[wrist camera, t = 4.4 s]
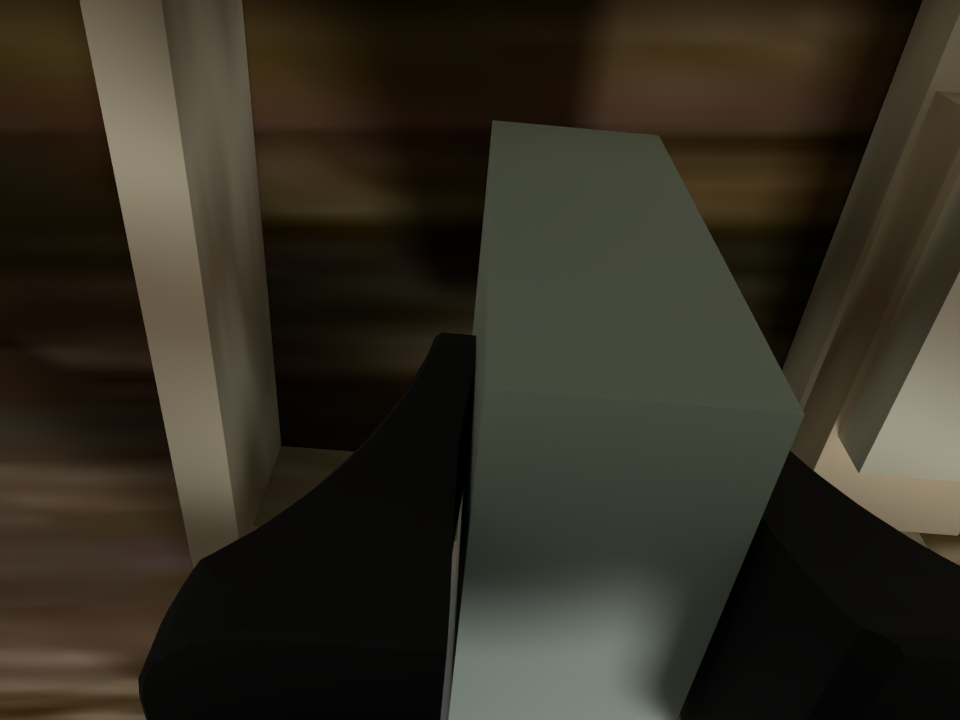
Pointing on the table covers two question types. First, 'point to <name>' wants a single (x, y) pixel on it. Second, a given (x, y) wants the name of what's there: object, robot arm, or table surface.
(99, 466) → the table surface
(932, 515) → the rack
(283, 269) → the table surface
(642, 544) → the green panel
